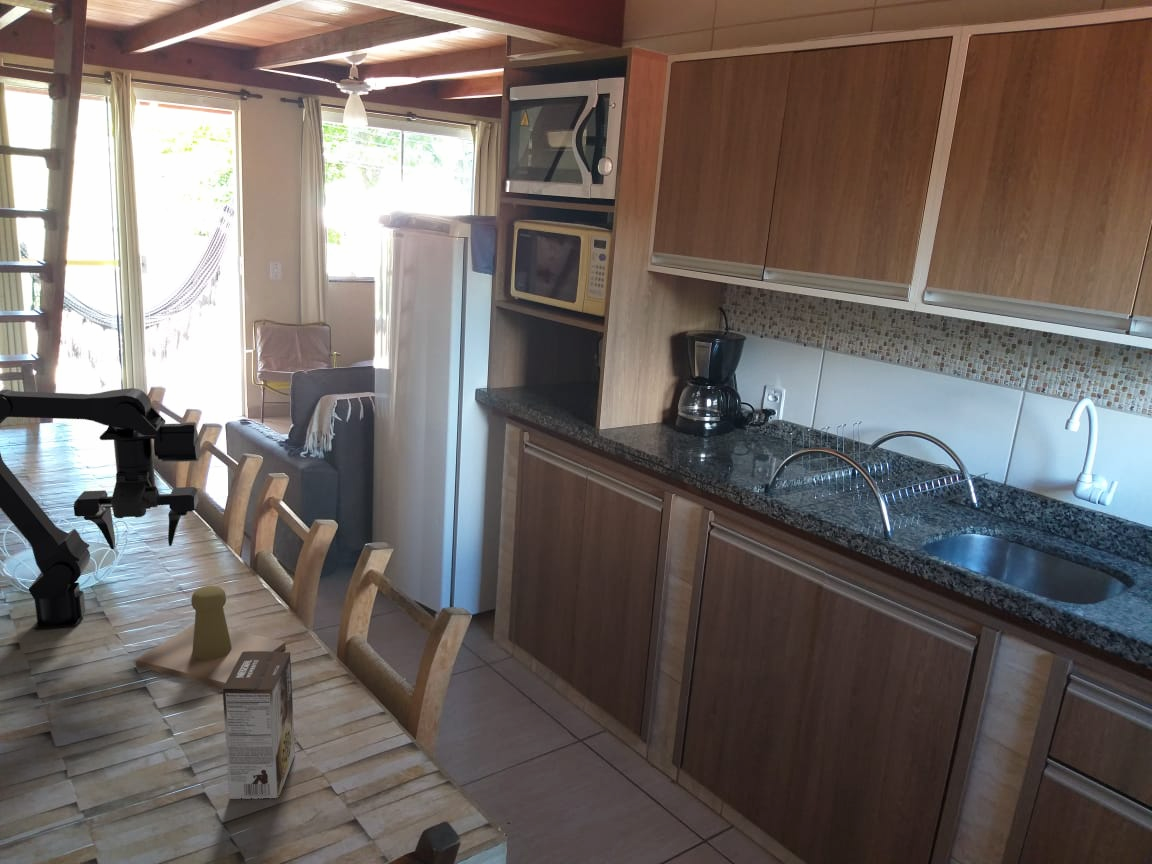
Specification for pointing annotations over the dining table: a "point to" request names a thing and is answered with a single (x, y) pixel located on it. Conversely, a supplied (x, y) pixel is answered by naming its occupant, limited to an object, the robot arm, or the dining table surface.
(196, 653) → the cork
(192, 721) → the dining table surface
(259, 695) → the coffee box
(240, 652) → the walnut board
